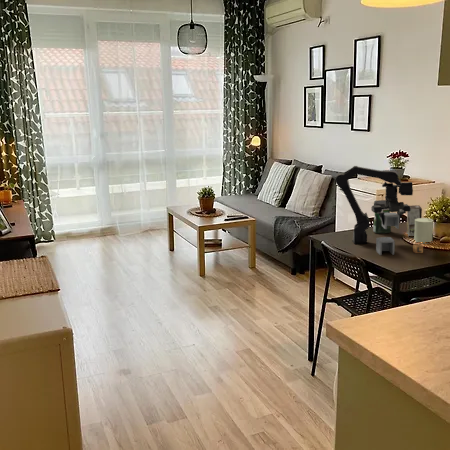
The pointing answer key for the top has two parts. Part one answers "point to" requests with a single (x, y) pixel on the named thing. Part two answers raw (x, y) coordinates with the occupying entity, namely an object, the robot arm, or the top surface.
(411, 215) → the coffee box
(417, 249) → the letter cube
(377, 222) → the coffee jar
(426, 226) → the can
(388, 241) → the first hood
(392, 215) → the grey arch block
